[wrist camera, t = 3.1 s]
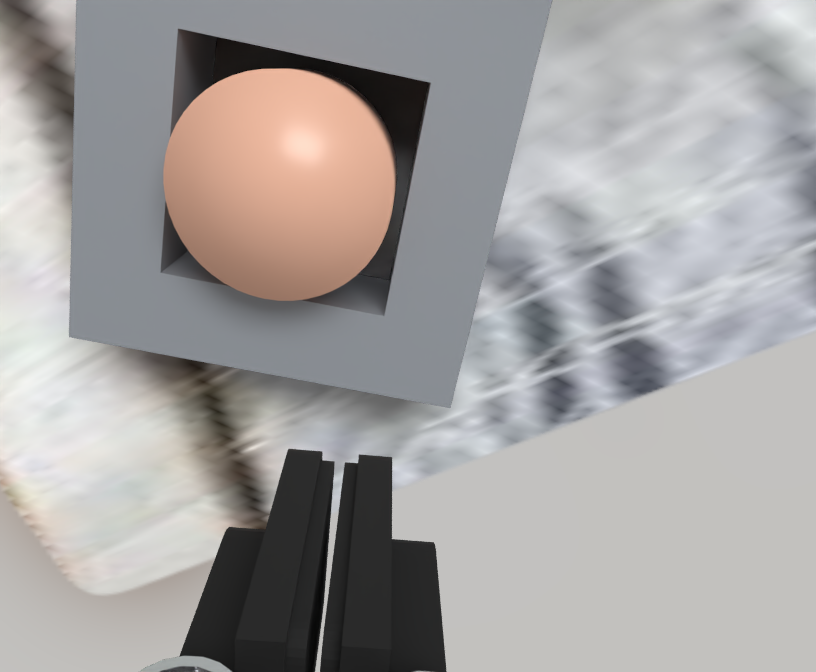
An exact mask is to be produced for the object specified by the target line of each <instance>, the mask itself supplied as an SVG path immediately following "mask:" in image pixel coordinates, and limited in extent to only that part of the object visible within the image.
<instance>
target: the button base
mask: <svg viewBox="0 0 816 672" xmlns="http://www.w3.org/2000/svg"><path fill="white" fill-rule="evenodd" d="M551 3H552V0H76V46H75V91H74V137H73V183H72V229H71V274H70V320H69V337H72V338H77V339H83V340H88V341H93V342H99V343H104V344H109V345H115V346H120V347H125V348H131V349H136V350H142V351H147V352H152V353H158V354H163V355H168V356H174V357H179V358H184V359H190V360H195V361H201V362H206V363H211V364H217V365H222V366H227V367H233V368H238V369H243V370H249V371H254V372H260V373H265V374H270V375H276V376H281V377H286V378H292V379H297V380H302V381H308V382H313V383H318V384H324V385H329V386H335V387H340V388H345V389H351V390H356V391H361V392H367V393H372V394H377V395H383V396H388V397H394V398H399V399H404V400H410V401H415V402H420V403H426V404H431V405H436V406H442V407H447V408H450V407H451V403H452V399H453V395H454V391H455V387H456V383H457V379H458V375H459V371H460V367H461V363H462V359H463V355H464V351H465V347H466V343H467V339H468V335H469V331H470V327H471V323H472V319H473V315H474V311H475V307H476V303H477V299H478V295H479V291H480V287H481V283H482V279H483V275H484V271H485V267H486V263H487V259H488V255H489V251H490V247H491V243H492V239H493V235H494V231H495V227H496V223H497V219H498V215H499V211H500V207H501V203H502V199H503V195H504V191H505V187H506V183H507V179H508V175H509V171H510V167H511V163H512V159H513V155H514V151H515V147H516V143H517V139H518V135H519V131H520V127H521V123H522V119H523V115H524V111H525V107H526V103H527V99H528V95H529V91H530V87H531V83H532V79H533V75H534V71H535V67H536V63H537V59H538V55H539V51H540V47H541V43H542V39H543V35H544V31H545V27H546V23H547V19H548V15H549V11H550V7H551ZM217 37H220V38H225V39H230V40H234V41H239V42H244V43H248V44H253V45H258V46H262V47H267V48H272V49H276V50H281V51H286V52H290V53H295V54H299V55H304V56H309V57H313V58H318V59H323V60H327V61H332V62H337V63H341V64H346V65H351V66H355V67H360V68H365V69H369V70H374V71H379V72H383V73H388V74H393V75H397V76H402V77H407V78H411V79H416V80H421V81H425V82H428V88H427V93H426V98H425V103H424V108H423V113H422V118H421V123H420V128H419V133H418V138H417V143H416V148H415V153H414V158H413V163H412V168H411V173H410V178H409V183H408V188H407V193H406V198H405V203H404V208H403V213H402V218H401V223H400V228H399V233H398V238H397V243H396V248H395V254H394V259H393V264H392V269H391V274H390V279H389V280H385V279H380V278H375V277H370V276H365V275H360V274H357V275H356V276H355V277H354V278H352V279H351V280H350V281H348V282H347V283H346V284H344V285H342V286H340V287H339V288H337V289H335V290H333V291H331V292H328V293H326V294H323V295H321V296H317V297H313V298H309V299H303V300H295V301H277V300H270V299H263V298H259V297H255V296H252V295H249V294H246V293H243V292H241V291H238V290H236V289H234V288H232V287H230V286H229V285H227V284H225V283H223V282H222V281H220V280H219V279H217V278H216V277H215V276H213V275H212V274H211V273H209V272H208V271H207V270H206V269H205V268H204V267H203V266H202V265H200V263H199V262H198V261H197V260H196V259H195V258H194V257H193V256H192V255H191V253H190V252H189V251H188V249H187V248H186V246H185V245H184V243H183V242H182V240H181V239H180V237H179V235H178V233H177V231H176V229H175V227H174V225H173V222H172V220H171V217H170V215H169V211H168V207H167V203H166V199H165V192H164V184H163V169H164V161H165V154H166V150H167V147H168V143H169V139H170V137H171V135H172V132H173V130H174V128H175V125H176V124H177V122H178V120H179V119H180V117H181V116H182V114H183V112H184V111H185V110H186V109H187V108H188V106H189V105H190V104H191V103H192V102H193V100H194V99H196V98H197V97H198V96H199V95H200V94H201V93H202V92H204V91H205V90H206V89H208V88H209V87H211V86H212V84H213V73H214V62H215V51H216V40H217Z"/></svg>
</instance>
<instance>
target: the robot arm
mask: <svg viewBox="0 0 816 672" xmlns="http://www.w3.org/2000/svg"><path fill="white" fill-rule="evenodd" d="M333 477H334V462H333V461H322V452H321V451H309V450H296V449H288V452H287V455H286V459H285V462H284V466H283V469H282V473H281V477H280V480H279V484H278V487H277V491H276V494H275V498H274V502H273V505H272V509H271V512H270V516H269V519H268V523H267V527H266V530H261V529H248V528H235V527H229V528H228V529H227V530H226V532H225V534H224V536H223V539H222V542H221V544H220V547H219V550H218V553H217V555H216V558H215V561H214V563H213V566H212V569H211V572H210V574H209V577H208V580H207V583H206V585H205V588H204V591H203V593H202V596H201V599H200V602H199V604H198V608H197V610H196V613H195V615H194V618H193V621H192V623H191V626H190V629H189V632H188V634H187V637H186V640H185V643H184V645H183V648H182V651H181V654H180V656H179V657H175V658H169V659H164V660H162V661H159V662H157V663H155V664H152V665H150V666H148V667H145V668H144V669H143V670H141V671H140V672H315V667H316V660H317V652H318V644H319V636H320V629H321V622H322V613H323V604H324V593H325V581H326V568H327V555H328V542H329V529H330V516H331V503H332V490H333ZM320 672H446V662H445V650H444V639H443V627H442V616H441V604H440V593H439V581H438V570H437V559H436V549H435V544H434V542H422V541H408V540H395V539H392V457H382V456H370V455H359V461H358V463H346V462H345V467H344V475H343V483H342V491H341V499H340V507H339V515H338V523H337V531H336V540H335V547H334V555H333V563H332V572H331V579H330V587H329V595H328V603H327V611H326V619H325V627H324V636H323V646H322V655H321V667H320Z"/></svg>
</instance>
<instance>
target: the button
mask: <svg viewBox="0 0 816 672" xmlns="http://www.w3.org/2000/svg"><path fill="white" fill-rule="evenodd" d="M163 184H164V192H165V199H166V203H167V207H168V211H169V215H170V217H171V220H172V222H173V225H174V227H175V229H176V231H177V233H178V235H179V237H180V239H181V240H182V242H183V243H184V245H185V246H186V248H187V249H188V251H189V252H190V253H191V255H192V256H193V257H194V258H195V259H196V260H197V261H198V262H199V263H200V265H202V266H203V267H204V268H205V269H206V270H207V271H208V272H209V273H211V274H212V275H213V276H215V277H216V278H217V279H219V280H220V281H222V282H223V283H225V284H227V285H229V286H230V287H232V288H234V289H236V290H238V291H241V292H243V293H246V294H249V295H252V296H255V297H259V298H263V299H270V300H277V301H295V300H303V299H309V298H313V297H317V296H321V295H323V294H326V293H328V292H331V291H333V290H335V289H337V288H339V287H340V286H342V285H344V284H346V283H347V282H348V281H350V280H351V279H352V278H354V277H355V276H356V275H357V274H358V273H359V272H360V271H361V270H362V269H363V268H364V267H366V265H367V264H368V263H369V262H370V260H371V259H372V258H373V256H374V255H375V254H376V252H377V250H378V248H379V247H380V245H381V243H382V241H383V239H384V236H385V234H386V232H387V229H388V225H389V222H390V218H391V214H392V208H393V203H394V197H395V192H396V184H397V160H396V152H395V149H394V145H393V141H392V138H391V136H390V133H389V131H388V128H387V126H386V124H385V123H384V121H383V119H382V117H381V116H380V114H379V113H378V112H377V110H376V109H375V108H374V106H373V105H372V104H371V103H370V102H369V101H368V100H367V99H366V98H365V97H364V95H362V94H361V93H360V92H359V91H357V90H356V89H355V88H354V87H352V86H351V85H349V84H348V83H346V82H344V81H343V80H341V79H339V78H336V77H334V76H332V75H330V74H327V73H323V72H320V71H316V70H310V69H303V68H284V69H258V70H251V71H245V72H242V73H238V74H235V75H232V76H230V77H227V78H225V79H223V80H221V81H219V82H217V83H215V84H214V85H212V86H211V87H209V88H208V89H206V90H205V91H204V92H202V93H201V94H200V95H199V96H198V97H197V98H196V99H194V100H193V102H192V103H191V104H190V105H189V106H188V108H187V109H186V110H185V111H184V112H183V114H182V116H181V117H180V119H179V120H178V122H177V124H176V125H175V128H174V130H173V132H172V135H171V137H170V139H169V143H168V147H167V150H166V154H165V161H164V169H163Z"/></svg>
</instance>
